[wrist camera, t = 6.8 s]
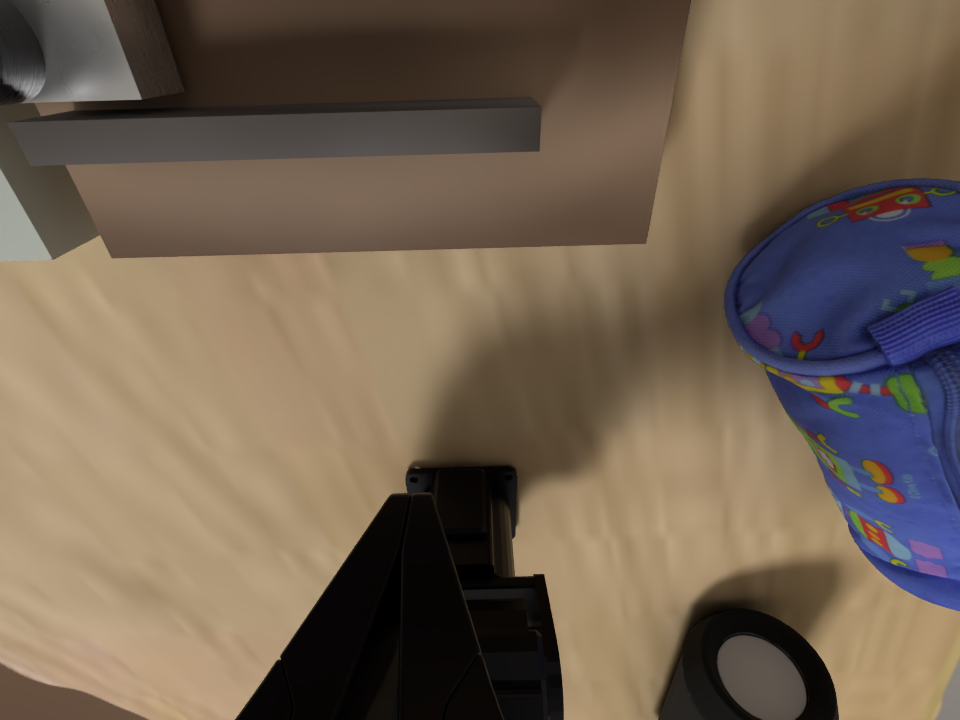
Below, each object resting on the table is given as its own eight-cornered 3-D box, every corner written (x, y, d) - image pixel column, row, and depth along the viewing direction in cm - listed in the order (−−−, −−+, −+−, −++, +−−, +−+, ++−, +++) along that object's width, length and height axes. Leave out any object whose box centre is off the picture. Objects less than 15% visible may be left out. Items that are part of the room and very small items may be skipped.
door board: (616, 207, 19) (669, 271, 14) (174, 220, 19) (62, 288, 14) (680, -257, 12) (835, -477, 7) (-7, -235, 12) (-362, -437, 7)
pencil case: (980, 450, 27) (1185, 616, 20) (829, 511, 30) (952, 676, 23) (883, 134, 18) (1212, 211, 10) (674, 270, 21) (797, 412, 13)
